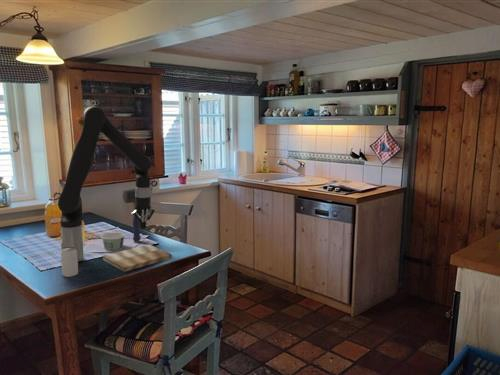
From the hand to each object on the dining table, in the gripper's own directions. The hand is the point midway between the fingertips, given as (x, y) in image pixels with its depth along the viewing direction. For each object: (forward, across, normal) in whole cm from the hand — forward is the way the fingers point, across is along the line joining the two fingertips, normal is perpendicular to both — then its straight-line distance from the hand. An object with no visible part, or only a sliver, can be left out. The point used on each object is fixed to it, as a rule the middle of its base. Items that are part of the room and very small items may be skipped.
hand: (143, 228), depth 209 cm
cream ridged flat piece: (+12, -8, -3) cm, 15 cm away
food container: (+13, -7, +17) cm, 22 cm away
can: (+13, -39, -4) cm, 42 cm away
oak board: (+12, -8, -13) cm, 19 cm away
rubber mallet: (+13, +6, +17) cm, 22 cm away
